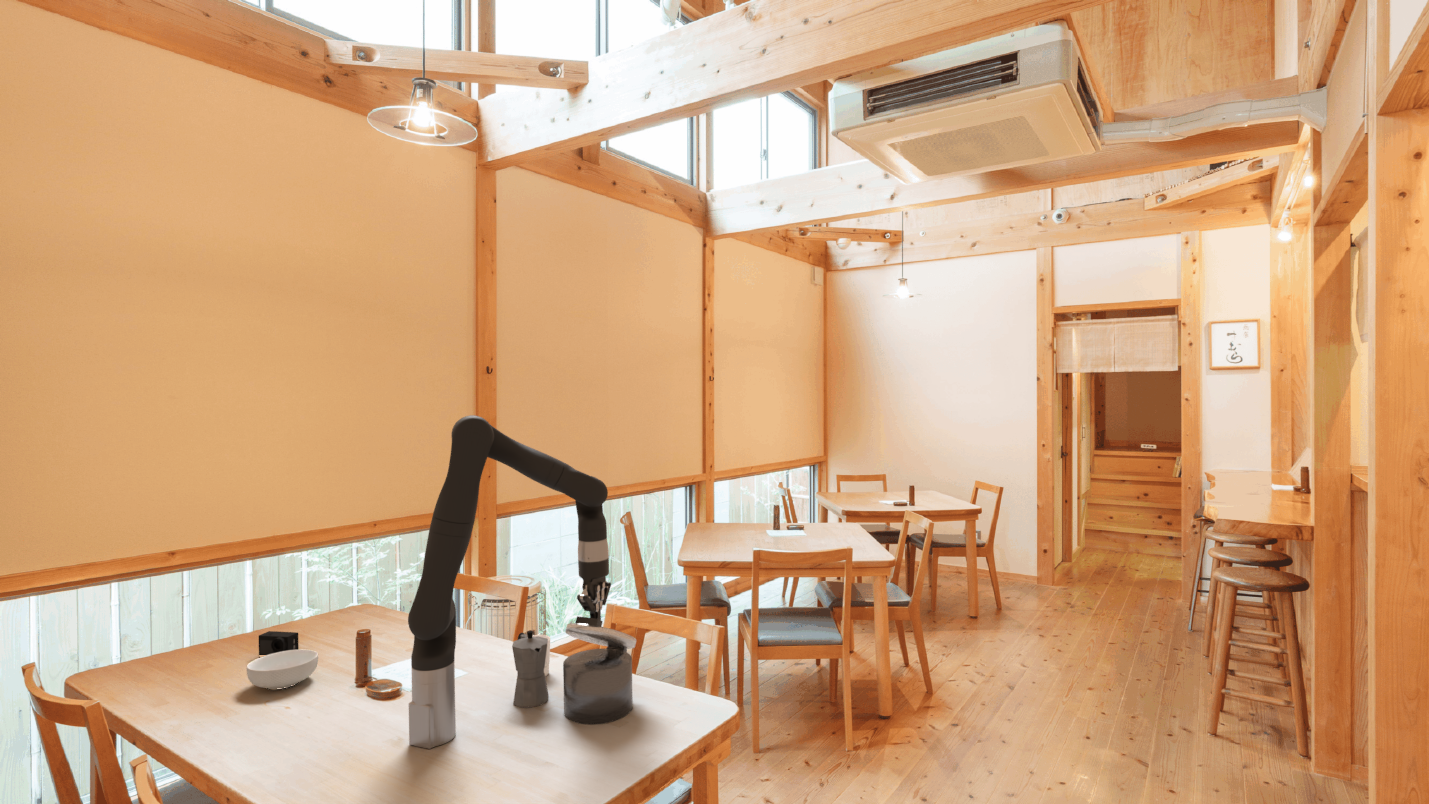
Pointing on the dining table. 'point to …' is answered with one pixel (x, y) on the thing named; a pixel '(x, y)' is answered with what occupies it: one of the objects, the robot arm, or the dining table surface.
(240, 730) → the dining table surface
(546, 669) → the white cup
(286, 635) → the digital camera
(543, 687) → the coffeepot
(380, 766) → the dining table surface
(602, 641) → the lid
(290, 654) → the cereal bowl
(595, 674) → the pot
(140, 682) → the dining table surface
